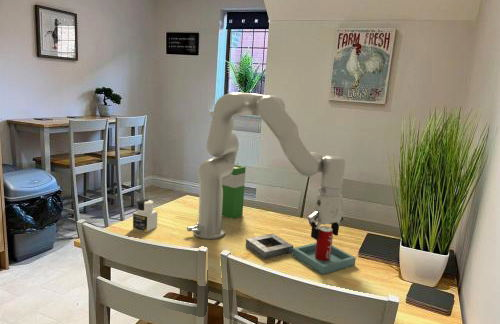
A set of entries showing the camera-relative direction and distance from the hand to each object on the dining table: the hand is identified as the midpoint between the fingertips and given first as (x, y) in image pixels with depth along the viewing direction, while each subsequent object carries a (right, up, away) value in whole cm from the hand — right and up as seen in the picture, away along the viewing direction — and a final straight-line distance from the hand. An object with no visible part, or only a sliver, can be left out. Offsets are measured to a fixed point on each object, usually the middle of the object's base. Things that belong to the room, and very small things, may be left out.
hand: (324, 236), depth 131 cm
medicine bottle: (-71, -1, +21) cm, 74 cm away
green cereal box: (-40, +2, +46) cm, 61 cm away
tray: (0, -9, +2) cm, 9 cm away
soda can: (0, -9, +2) cm, 9 cm away
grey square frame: (-20, -7, +8) cm, 22 cm away
